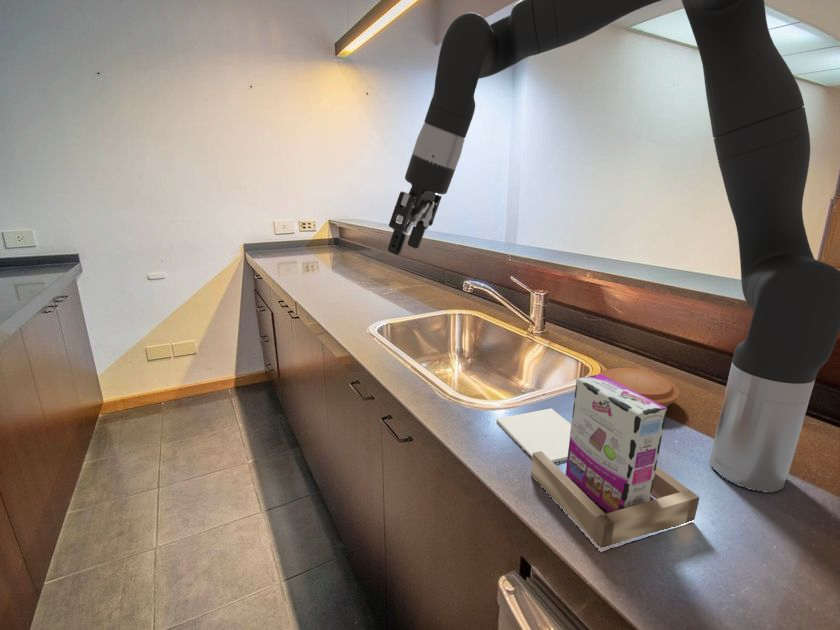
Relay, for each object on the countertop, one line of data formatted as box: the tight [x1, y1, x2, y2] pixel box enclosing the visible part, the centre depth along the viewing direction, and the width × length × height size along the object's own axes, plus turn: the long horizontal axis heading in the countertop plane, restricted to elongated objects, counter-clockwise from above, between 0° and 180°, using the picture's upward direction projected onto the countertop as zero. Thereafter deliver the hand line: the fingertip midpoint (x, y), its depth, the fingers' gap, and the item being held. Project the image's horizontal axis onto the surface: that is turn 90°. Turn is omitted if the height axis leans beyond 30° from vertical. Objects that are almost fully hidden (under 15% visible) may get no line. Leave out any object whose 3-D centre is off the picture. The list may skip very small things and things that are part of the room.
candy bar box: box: [565, 374, 668, 514], centre depth 58 cm, size 11×5×16 cm, turn 21°
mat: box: [496, 408, 571, 464], centre depth 74 cm, size 12×14×1 cm
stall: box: [530, 451, 700, 548], centre depth 59 cm, size 15×15×4 cm
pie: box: [597, 367, 681, 408], centre depth 86 cm, size 15×16×5 cm
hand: (403, 249), depth 76 cm, fingers open, 8 cm apart
